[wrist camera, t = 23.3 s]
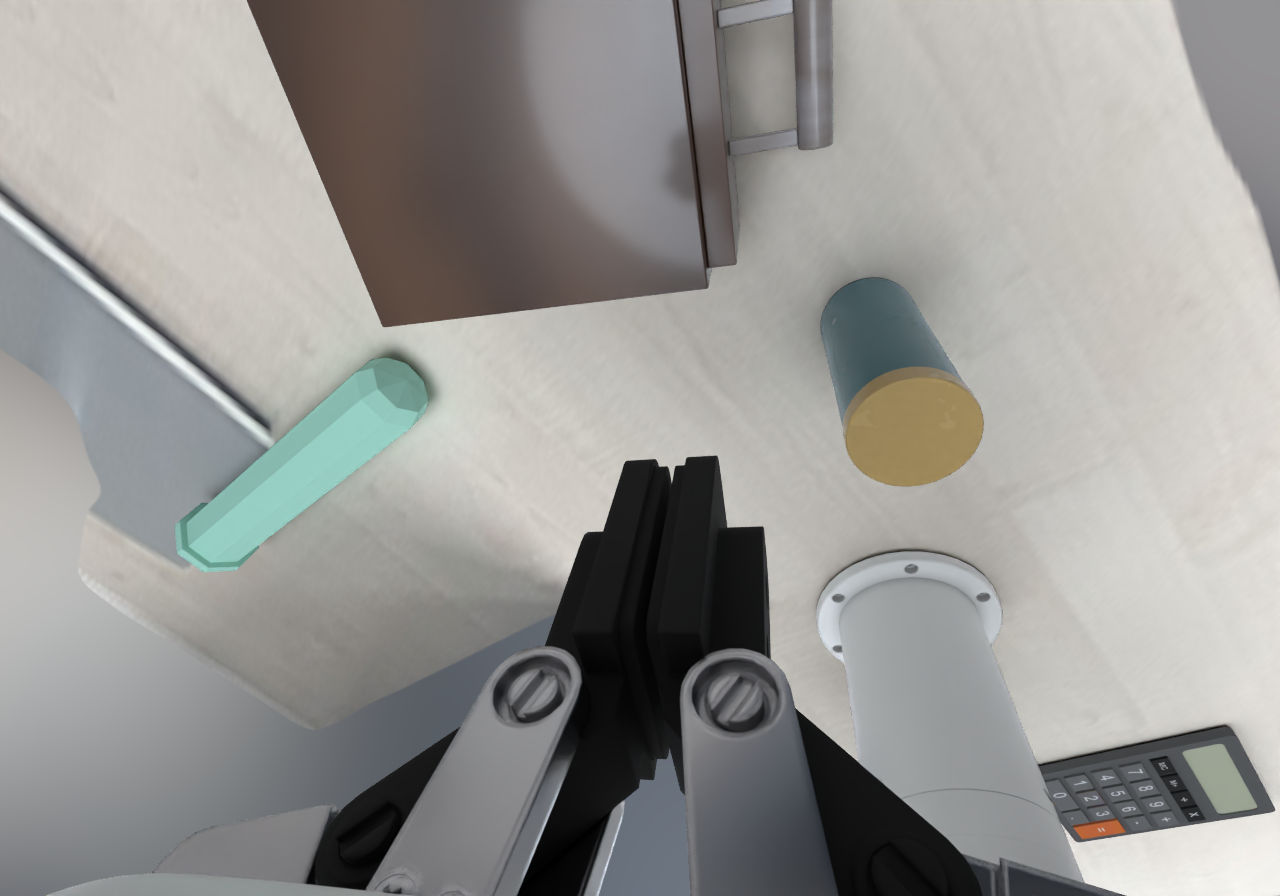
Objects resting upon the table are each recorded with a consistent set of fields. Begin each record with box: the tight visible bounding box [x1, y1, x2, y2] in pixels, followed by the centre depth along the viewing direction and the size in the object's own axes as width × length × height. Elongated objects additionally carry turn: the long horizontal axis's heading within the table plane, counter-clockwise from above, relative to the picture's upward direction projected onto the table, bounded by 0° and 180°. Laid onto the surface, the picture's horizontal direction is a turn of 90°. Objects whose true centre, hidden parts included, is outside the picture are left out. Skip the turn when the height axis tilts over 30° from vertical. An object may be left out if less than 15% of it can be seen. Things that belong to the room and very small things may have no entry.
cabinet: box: [247, 0, 712, 327], centre depth 27 cm, size 16×14×9 cm
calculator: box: [1038, 727, 1275, 842], centre depth 51 cm, size 12×1×15 cm
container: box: [175, 357, 429, 572], centre depth 44 cm, size 6×6×25 cm
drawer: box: [677, 0, 833, 268], centre depth 26 cm, size 19×13×7 cm
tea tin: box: [821, 278, 984, 486], centre depth 29 cm, size 5×5×12 cm
